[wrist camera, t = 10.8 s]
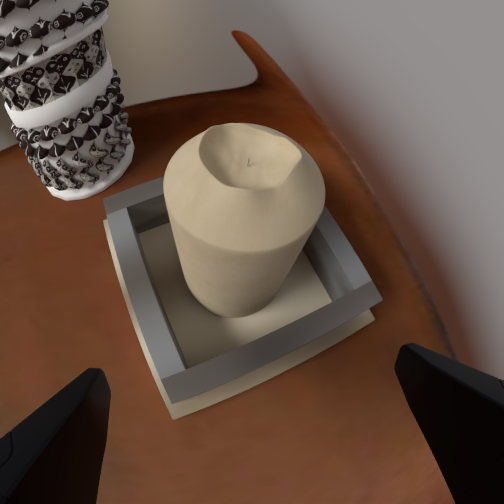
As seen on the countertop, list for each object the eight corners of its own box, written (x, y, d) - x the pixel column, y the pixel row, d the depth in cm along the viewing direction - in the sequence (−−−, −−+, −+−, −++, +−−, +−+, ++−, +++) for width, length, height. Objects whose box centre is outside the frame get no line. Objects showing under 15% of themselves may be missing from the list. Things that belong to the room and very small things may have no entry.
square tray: (368, 323, 18) (400, 305, 15) (175, 418, 15) (163, 426, 11) (275, 170, 23) (285, 132, 19) (107, 228, 19) (88, 193, 15)
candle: (285, 241, 19) (338, 115, 10) (272, 328, 16) (338, 247, 7) (198, 223, 19) (190, 86, 10) (174, 307, 16) (127, 204, 7)
